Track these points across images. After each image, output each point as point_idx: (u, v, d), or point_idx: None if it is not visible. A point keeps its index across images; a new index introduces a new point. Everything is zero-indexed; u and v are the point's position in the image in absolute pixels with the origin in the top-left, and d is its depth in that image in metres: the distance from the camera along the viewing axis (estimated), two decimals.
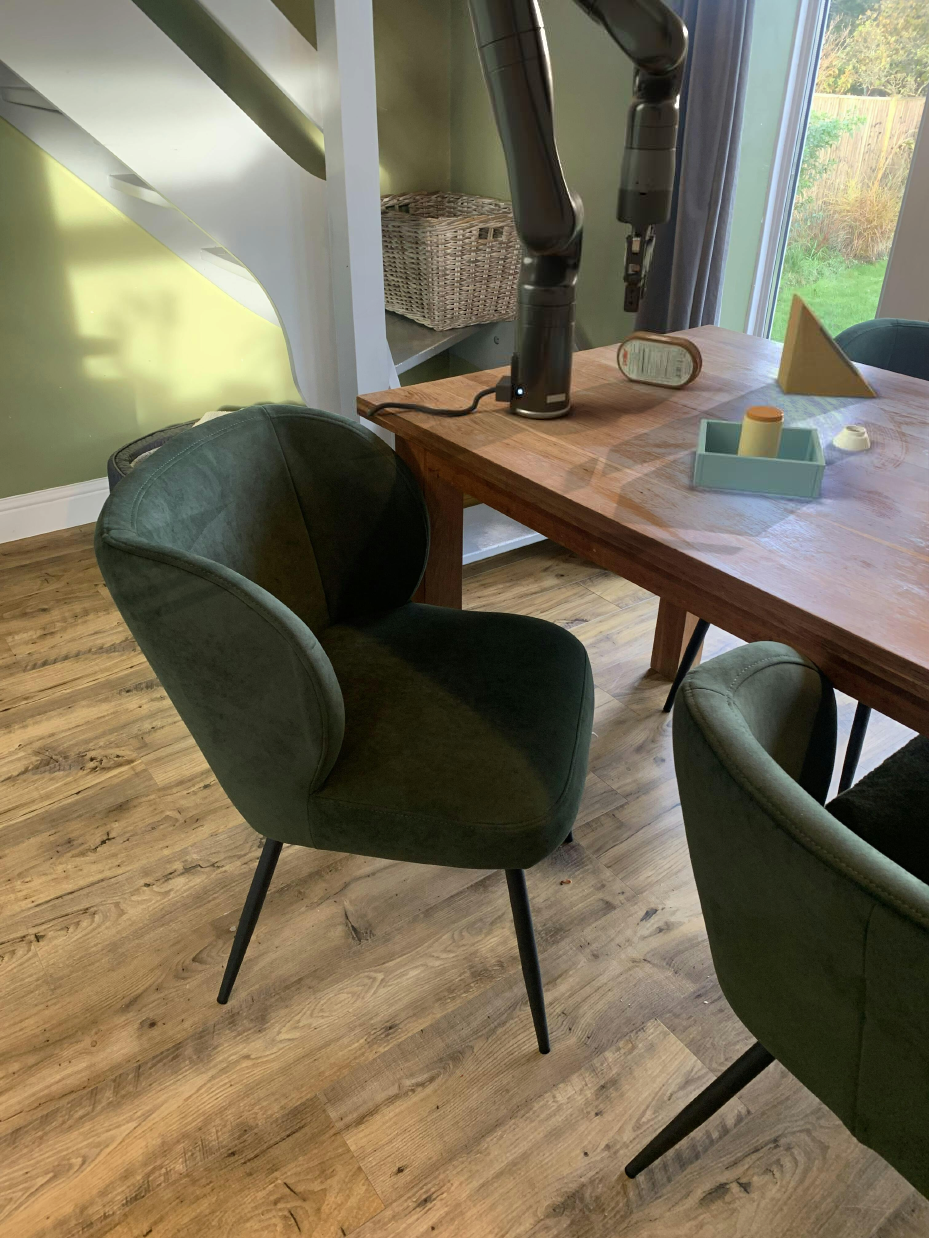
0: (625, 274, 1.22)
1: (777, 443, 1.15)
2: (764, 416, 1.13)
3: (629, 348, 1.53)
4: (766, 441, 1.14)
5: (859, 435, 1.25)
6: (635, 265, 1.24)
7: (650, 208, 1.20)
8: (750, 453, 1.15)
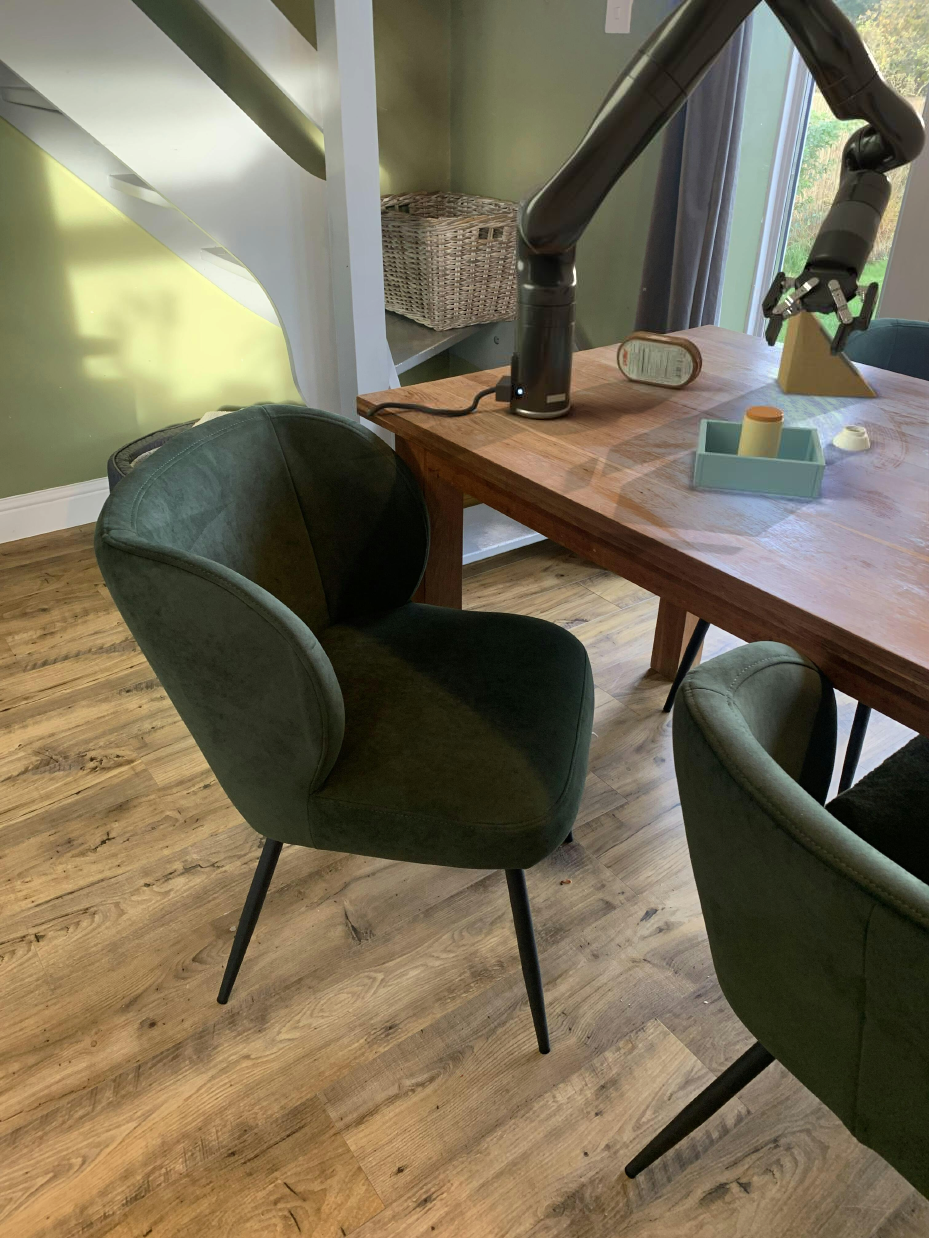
0: (869, 314, 1.16)
1: (777, 443, 1.15)
2: (764, 416, 1.13)
3: (629, 348, 1.53)
4: (766, 441, 1.14)
5: (859, 435, 1.25)
6: None
7: None
8: (750, 453, 1.15)
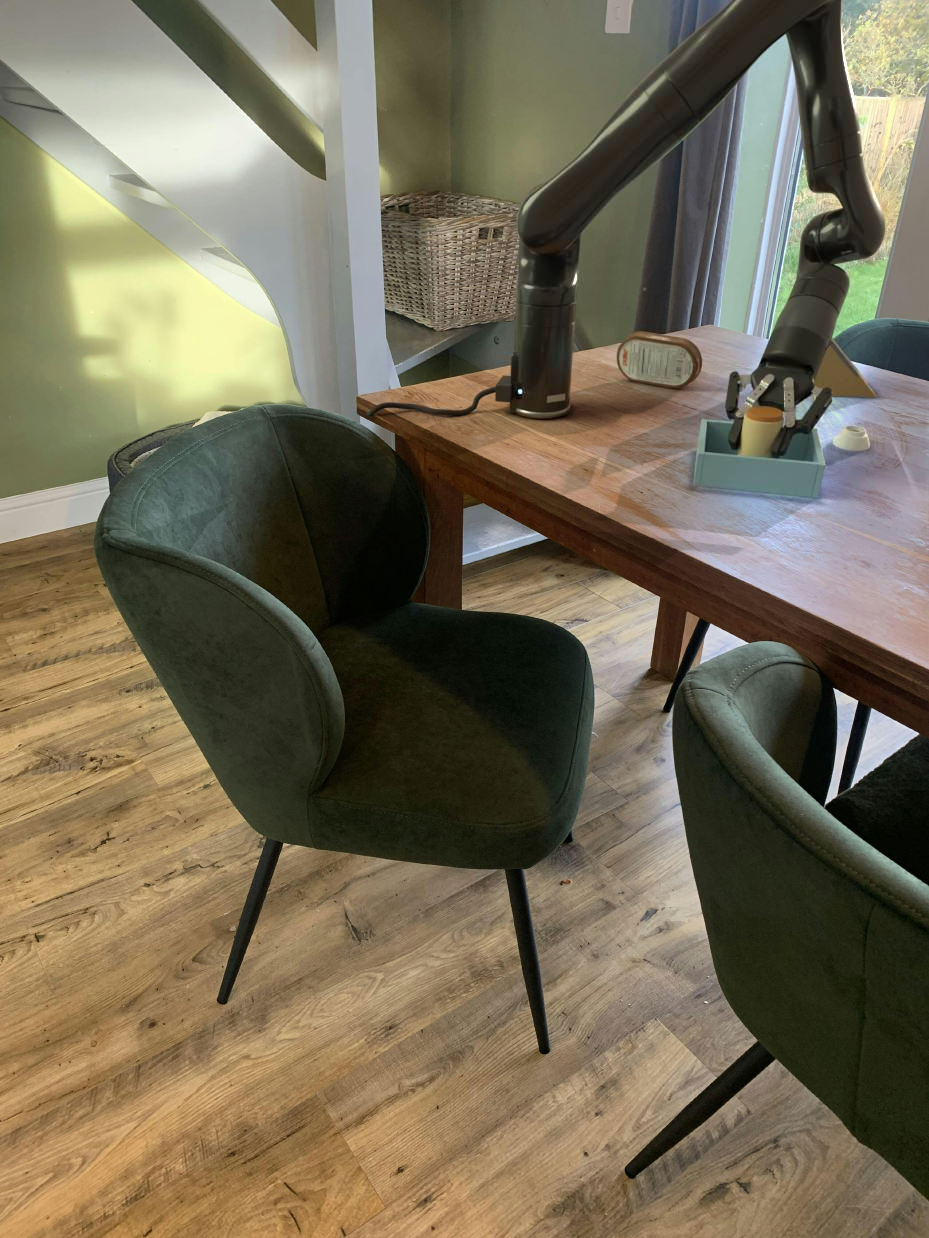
0: (811, 420, 1.13)
1: None
2: (764, 416, 1.13)
3: (629, 348, 1.53)
4: (766, 441, 1.14)
5: (859, 435, 1.25)
6: None
7: None
8: (750, 453, 1.15)
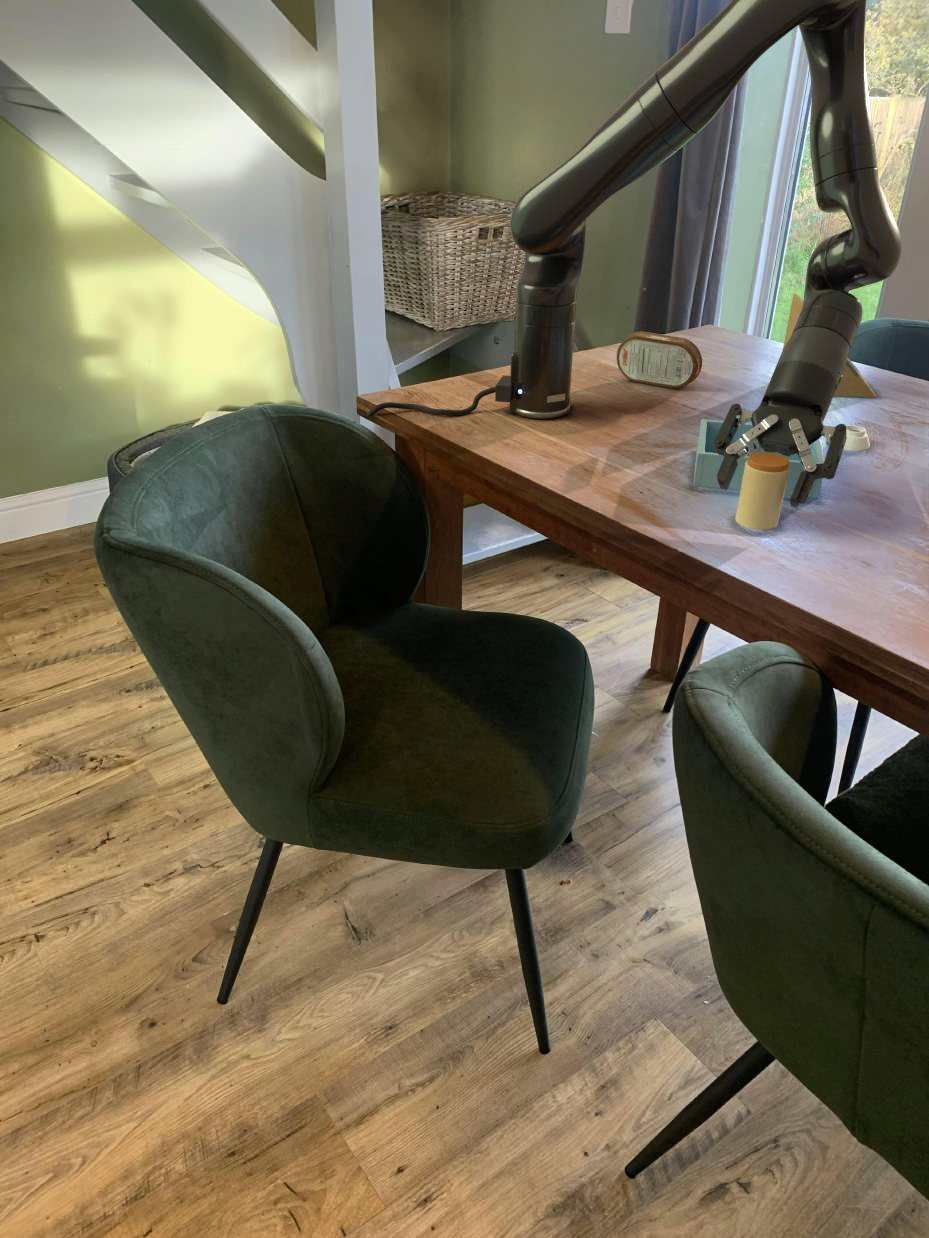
0: (835, 462, 1.00)
1: (782, 494, 1.03)
2: (767, 465, 1.00)
3: (629, 348, 1.53)
4: (769, 493, 1.02)
5: (859, 435, 1.25)
6: None
7: None
8: (752, 505, 1.03)
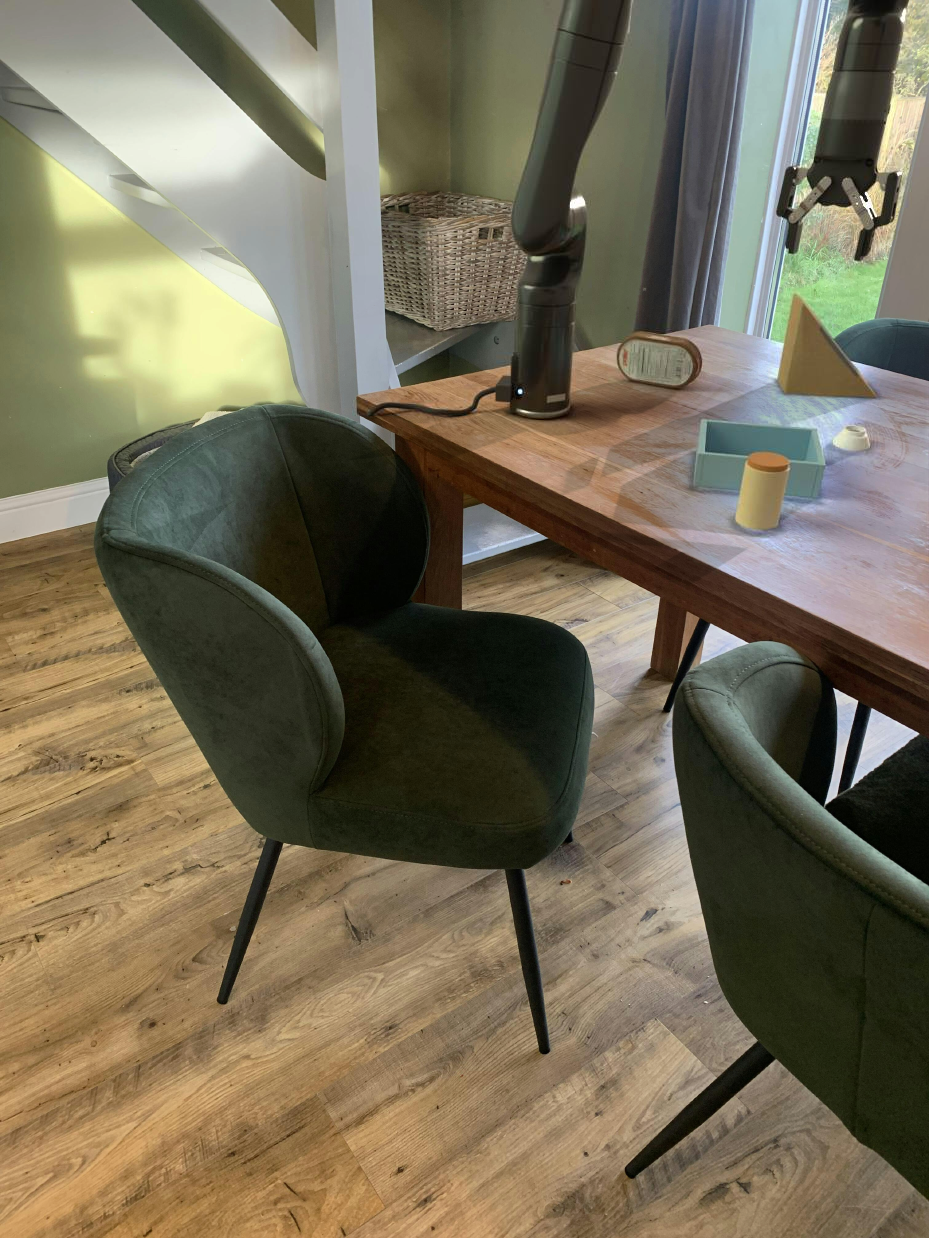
0: (891, 215, 1.08)
1: (782, 494, 1.03)
2: (767, 465, 1.00)
3: (629, 348, 1.53)
4: (769, 493, 1.02)
5: (859, 435, 1.25)
6: (868, 206, 1.10)
7: (881, 139, 1.07)
8: (752, 505, 1.03)
